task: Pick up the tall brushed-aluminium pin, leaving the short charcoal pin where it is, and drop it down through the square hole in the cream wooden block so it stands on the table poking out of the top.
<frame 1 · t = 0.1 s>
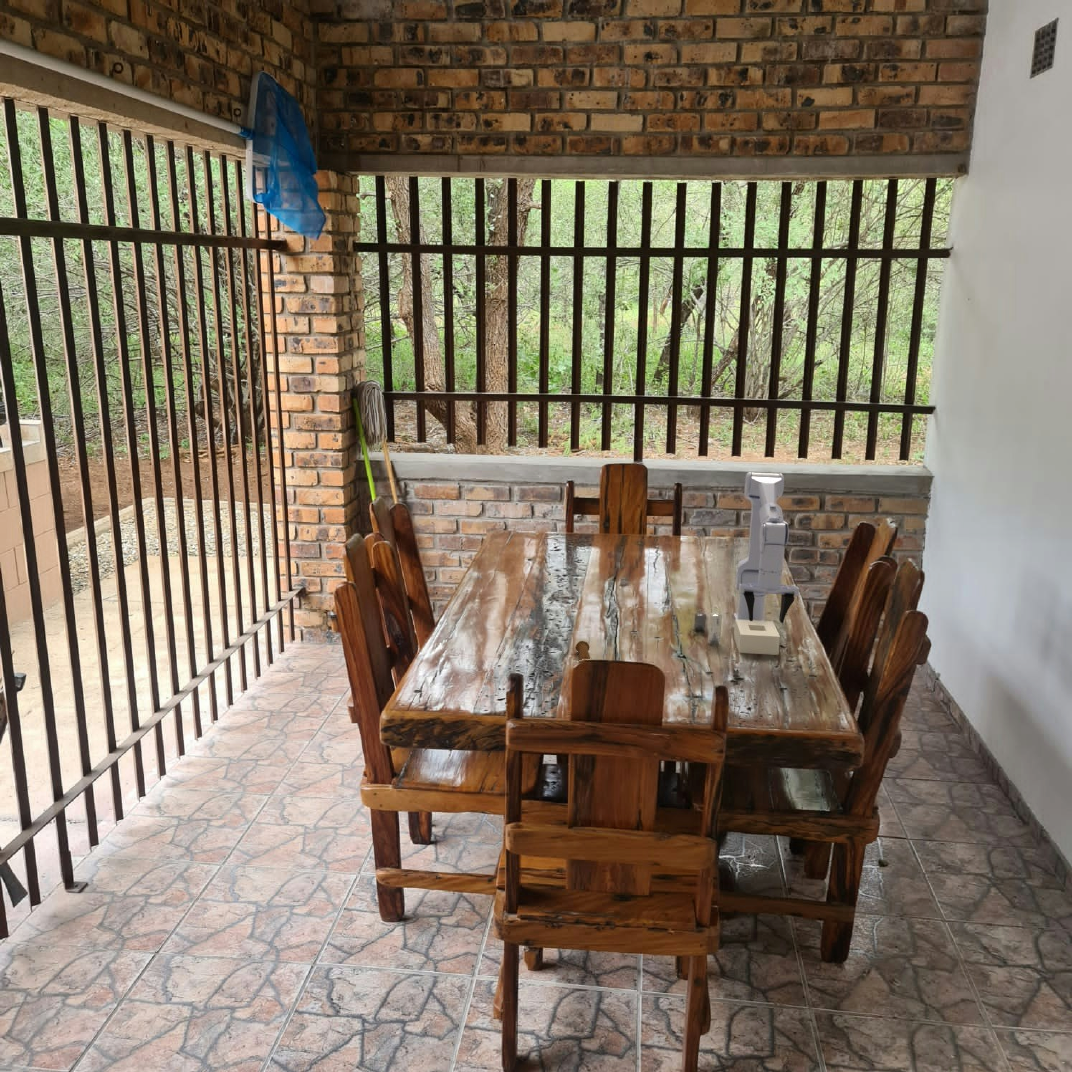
hand: (766, 620, 244), 10 cm above the table, tool pointing down, fingers open, 7 cm apart
long pin: (713, 643, 255), on the table
short pin: (699, 630, 265), on the table
hole block: (755, 645, 255), on the table
primitive tool: (586, 668, 238), on the table
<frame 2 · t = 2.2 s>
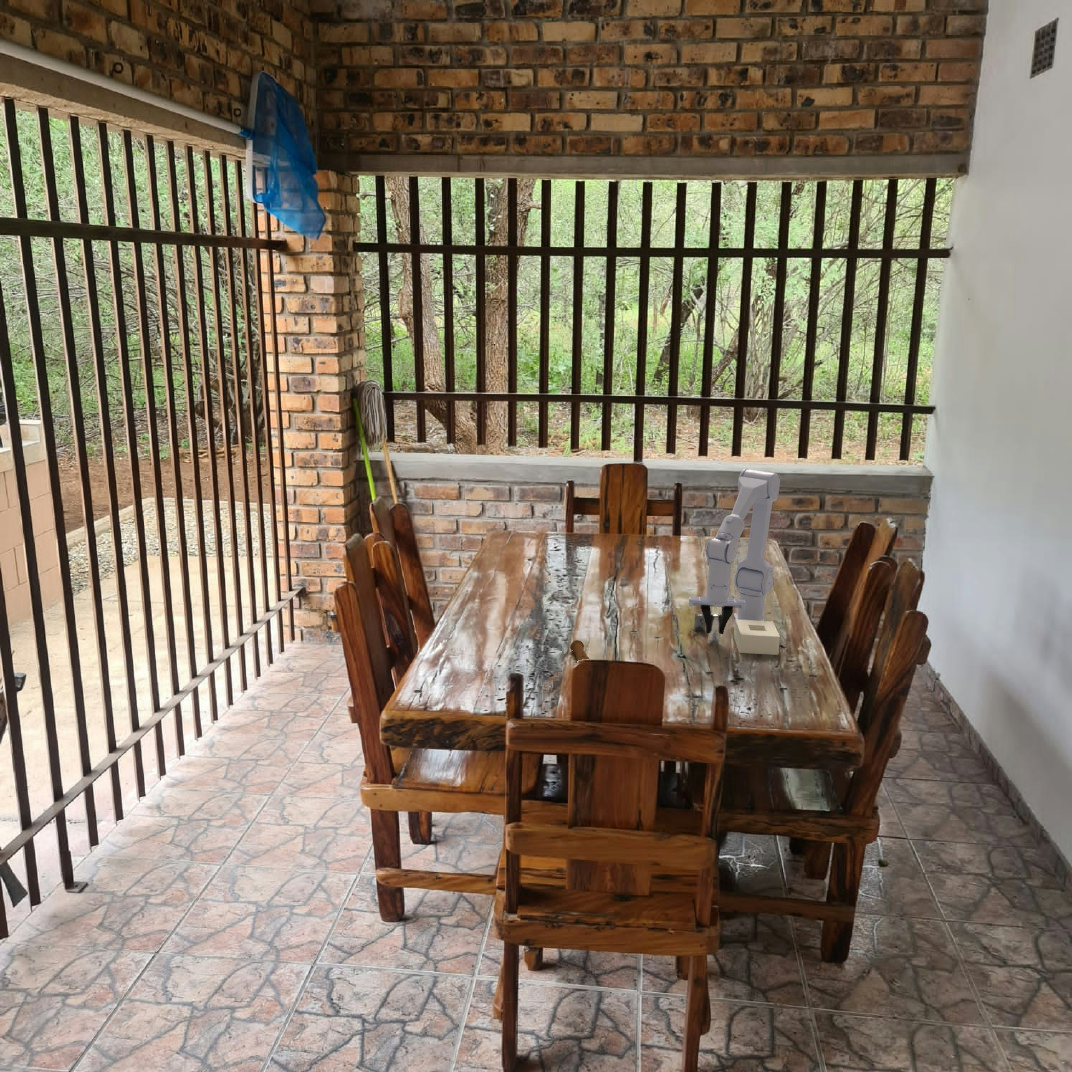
hand: (714, 632, 255), 3 cm above the table, tool pointing down, fingers closed on long pin, 3 cm apart
long pin: (713, 643, 255), on the table, touching gripper
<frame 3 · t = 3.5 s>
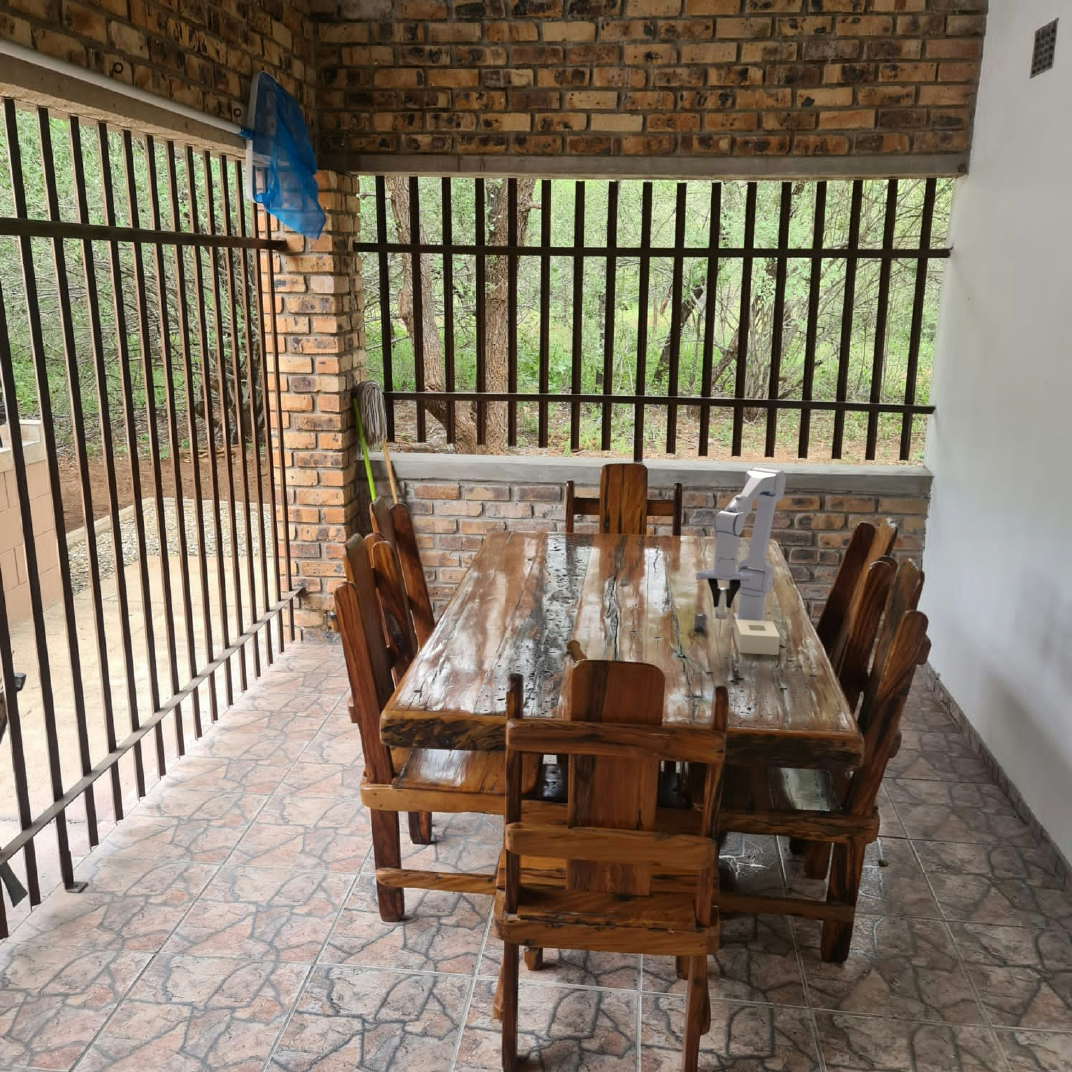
hand: (721, 606, 253), 10 cm above the table, tool pointing down, fingers closed on long pin, 3 cm apart
long pin: (721, 617, 254), point 7 cm above the table, touching gripper
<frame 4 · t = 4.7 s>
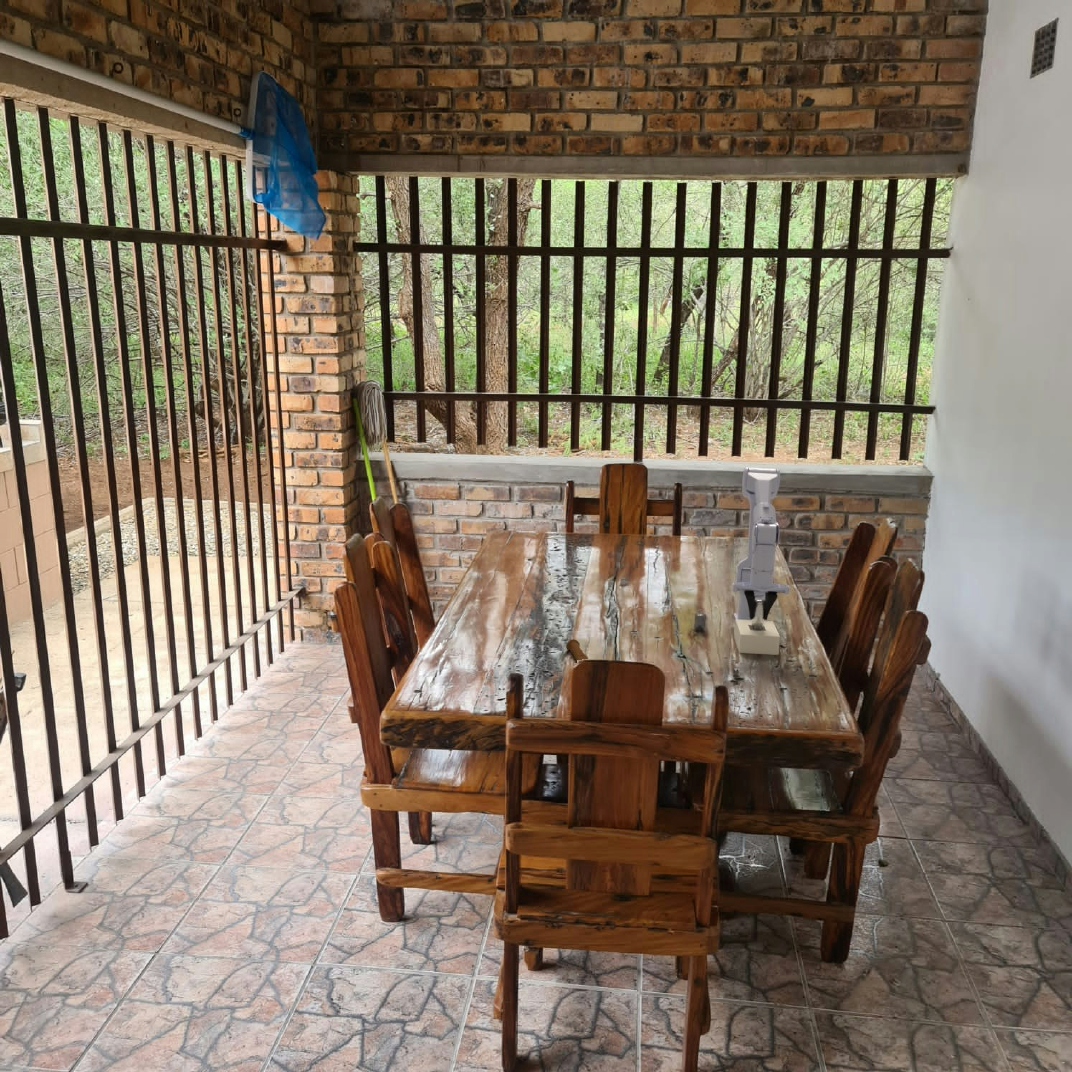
hand: (758, 618, 253), 8 cm above the table, tool pointing down, fingers closed on long pin, 3 cm apart
long pin: (757, 629, 253), point 5 cm above the table, touching gripper
when the fingers open (6 cm above the table, at t = 5.3 s): long pin drops 3 cm, resting in hole block.
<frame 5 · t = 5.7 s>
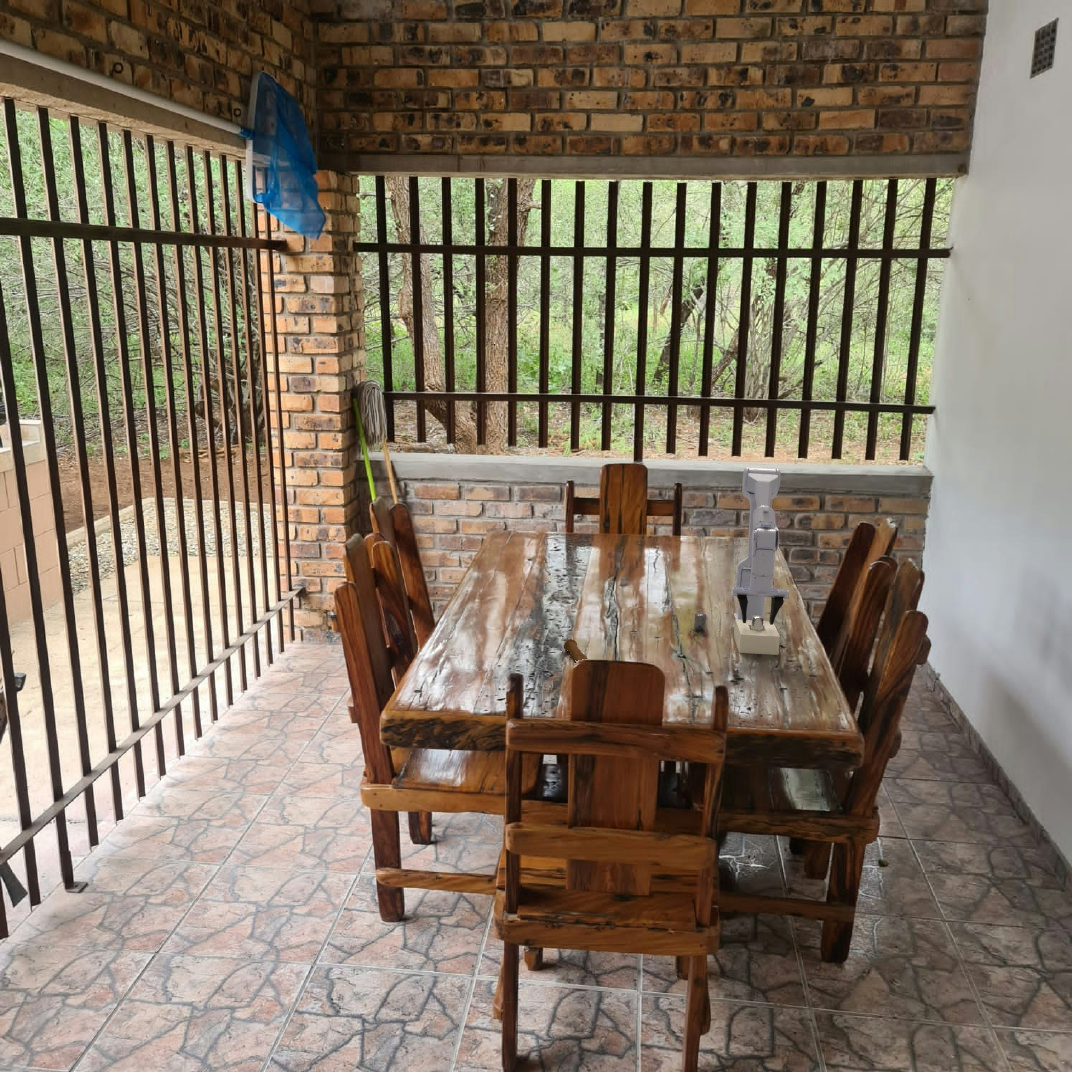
hand: (757, 622, 253), 6 cm above the table, tool pointing down, fingers open, 6 cm apart
long pin: (755, 645, 255), resting in hole block
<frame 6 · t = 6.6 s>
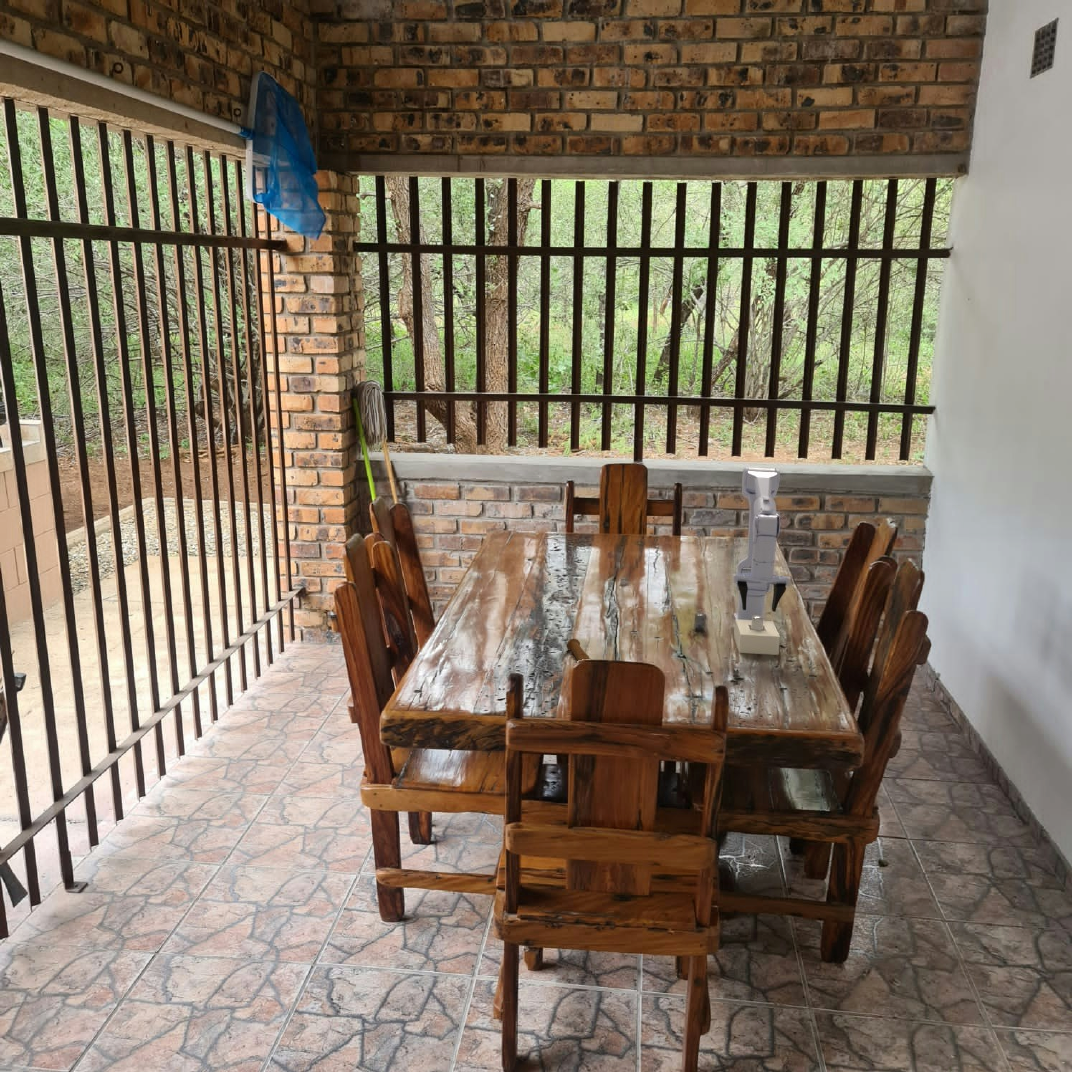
hand: (758, 609, 252), 10 cm above the table, tool pointing down, fingers open, 7 cm apart
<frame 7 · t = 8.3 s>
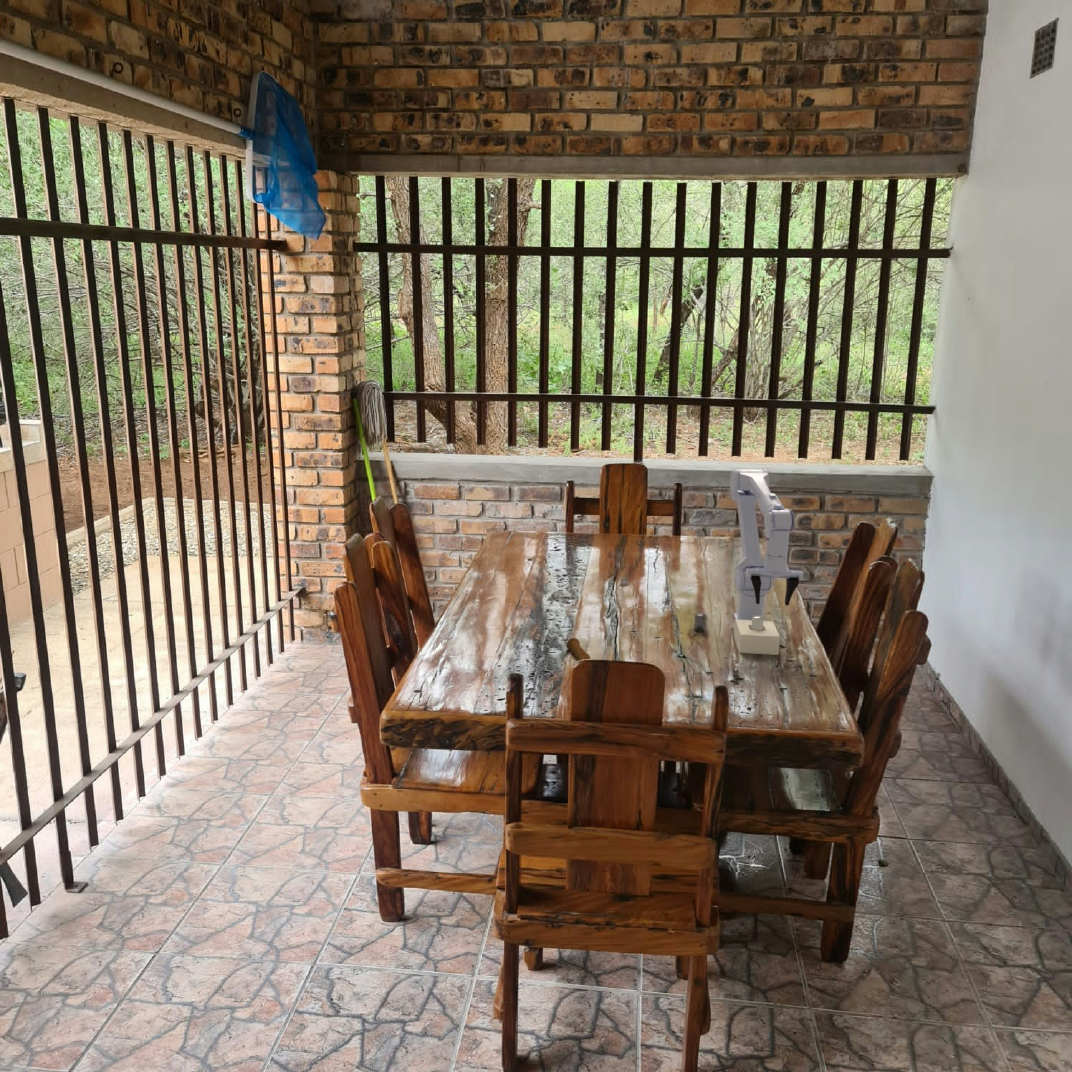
hand: (772, 603, 256), 10 cm above the table, tool pointing down, fingers open, 7 cm apart
at the end: long pin 0.1 cm off-centre on the hole block, point 0.0 cm above the hole block's base; long pin tilted 0°; short pin moved 0.0 cm from its start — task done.
